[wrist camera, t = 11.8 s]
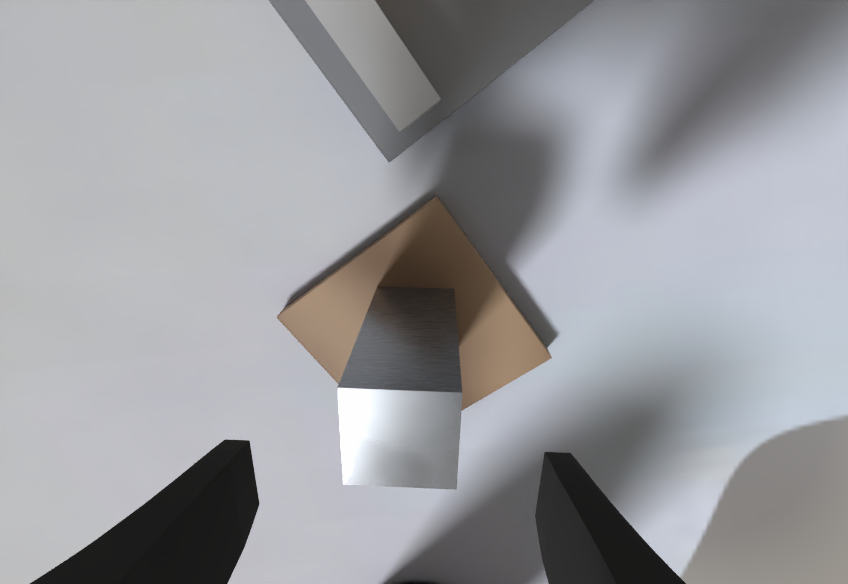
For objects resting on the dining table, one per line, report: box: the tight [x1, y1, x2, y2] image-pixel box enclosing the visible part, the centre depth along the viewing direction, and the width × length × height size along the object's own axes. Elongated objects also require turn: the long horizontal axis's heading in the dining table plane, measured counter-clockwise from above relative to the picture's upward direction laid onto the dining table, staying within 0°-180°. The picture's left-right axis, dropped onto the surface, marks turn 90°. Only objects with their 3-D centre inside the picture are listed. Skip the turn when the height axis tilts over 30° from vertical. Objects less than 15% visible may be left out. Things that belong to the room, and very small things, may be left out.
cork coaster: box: [277, 195, 552, 411], centre depth 18 cm, size 8×8×1 cm
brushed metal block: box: [337, 286, 462, 489], centre depth 14 cm, size 3×3×7 cm
